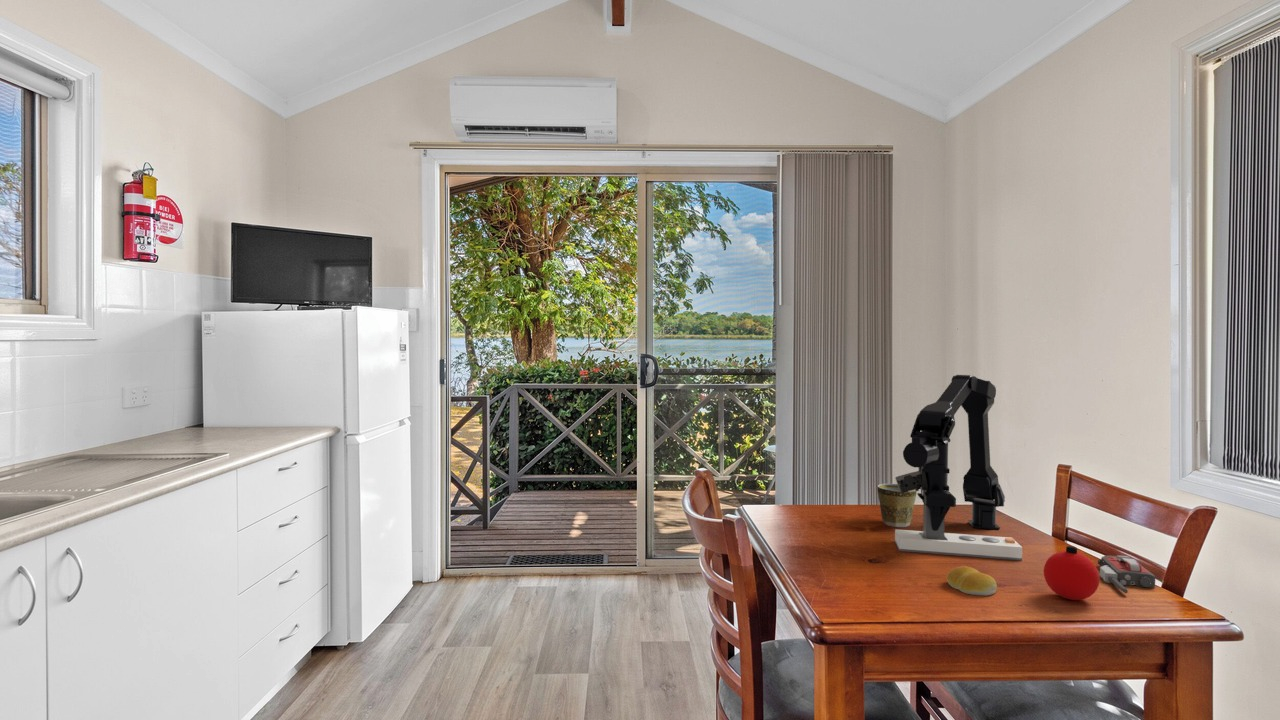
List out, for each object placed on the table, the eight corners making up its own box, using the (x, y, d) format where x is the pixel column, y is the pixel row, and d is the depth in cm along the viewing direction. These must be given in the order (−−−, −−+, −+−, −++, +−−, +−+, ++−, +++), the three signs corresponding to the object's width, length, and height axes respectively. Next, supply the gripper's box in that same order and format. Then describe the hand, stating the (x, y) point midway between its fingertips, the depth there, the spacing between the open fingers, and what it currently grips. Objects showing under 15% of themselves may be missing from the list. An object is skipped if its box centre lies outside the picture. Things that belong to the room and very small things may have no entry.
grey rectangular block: (923, 535, 162) (923, 502, 162) (940, 536, 161) (941, 503, 161) (925, 540, 158) (926, 505, 158) (944, 541, 157) (944, 506, 157)
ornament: (1108, 609, 123) (1109, 555, 123) (1055, 605, 125) (1056, 552, 124) (1085, 591, 132) (1086, 541, 132) (1035, 588, 134) (1036, 538, 133)
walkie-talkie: (1086, 565, 149) (1118, 597, 130) (1087, 546, 149) (1119, 575, 130) (1133, 570, 146) (1173, 603, 127) (1134, 550, 146) (1173, 580, 127)
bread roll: (975, 599, 128) (975, 578, 128) (939, 583, 136) (939, 564, 136) (1007, 594, 131) (1008, 574, 131) (970, 579, 139) (971, 560, 139)
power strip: (895, 541, 165) (895, 526, 165) (1011, 550, 159) (1012, 535, 159) (899, 550, 157) (899, 535, 157) (1022, 560, 151) (1022, 544, 151)
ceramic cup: (922, 529, 177) (922, 491, 176) (884, 528, 177) (884, 491, 177) (903, 516, 190) (904, 481, 189) (868, 516, 190) (868, 481, 190)
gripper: (893, 454, 170) (892, 516, 170) (903, 467, 152) (902, 536, 152) (941, 456, 167) (940, 519, 168) (957, 470, 149) (955, 540, 150)
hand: (933, 528), depth 159 cm, fingers closed on grey rectangular block, 4 cm apart
